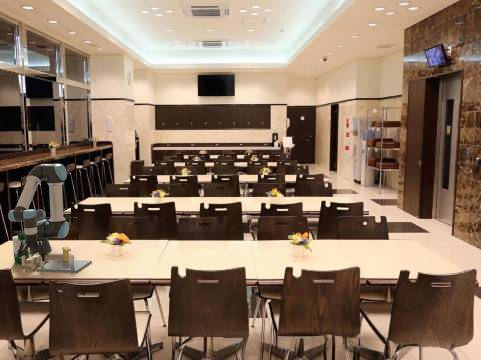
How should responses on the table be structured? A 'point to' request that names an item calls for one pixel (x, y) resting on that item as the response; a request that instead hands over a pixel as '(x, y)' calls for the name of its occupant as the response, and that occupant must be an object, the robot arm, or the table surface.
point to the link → (34, 262)
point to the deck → (65, 263)
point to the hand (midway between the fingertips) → (33, 265)
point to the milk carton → (16, 247)
